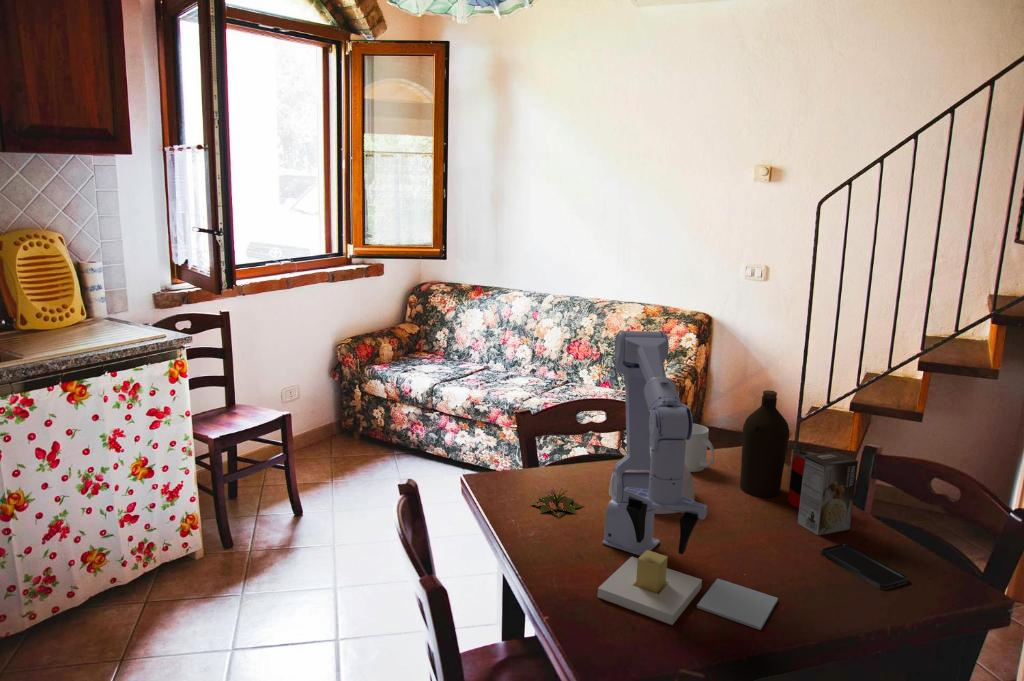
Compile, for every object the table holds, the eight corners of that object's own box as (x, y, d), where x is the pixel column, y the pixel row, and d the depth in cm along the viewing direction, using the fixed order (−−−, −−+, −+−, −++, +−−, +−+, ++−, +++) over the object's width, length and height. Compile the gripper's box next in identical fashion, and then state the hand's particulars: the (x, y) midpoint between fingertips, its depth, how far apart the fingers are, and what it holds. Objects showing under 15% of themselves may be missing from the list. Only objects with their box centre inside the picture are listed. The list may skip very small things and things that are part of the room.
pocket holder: (597, 597, 127) (598, 587, 127) (631, 564, 139) (631, 556, 138) (672, 625, 120) (673, 615, 119) (701, 588, 131) (702, 579, 131)
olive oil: (785, 501, 170) (796, 400, 165) (738, 495, 173) (748, 395, 167) (779, 483, 180) (790, 388, 175) (735, 479, 183) (745, 384, 178)
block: (635, 594, 129) (637, 558, 127) (644, 584, 132) (647, 549, 131) (656, 601, 127) (658, 565, 125) (664, 591, 130) (667, 556, 128)
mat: (696, 607, 125) (696, 605, 125) (717, 580, 134) (717, 578, 134) (760, 630, 119) (760, 627, 119) (777, 600, 128) (778, 598, 128)
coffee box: (828, 517, 162) (836, 450, 159) (850, 530, 156) (859, 460, 153) (796, 523, 159) (804, 455, 155) (817, 536, 153) (826, 465, 150)
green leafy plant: (554, 492, 172) (555, 475, 171) (593, 509, 164) (595, 490, 163) (519, 507, 164) (520, 488, 163) (559, 525, 156) (560, 505, 155)
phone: (845, 543, 149) (911, 578, 135) (845, 548, 149) (910, 584, 136) (817, 549, 146) (882, 586, 132) (817, 554, 146) (881, 592, 132)
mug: (701, 479, 182) (704, 439, 179) (665, 464, 191) (668, 426, 189) (722, 472, 186) (726, 433, 184) (686, 458, 196) (689, 421, 194)
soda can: (801, 495, 174) (806, 448, 172) (829, 506, 168) (835, 458, 165) (780, 501, 170) (786, 453, 168) (808, 513, 164) (815, 464, 161)
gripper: (618, 472, 124) (614, 544, 127) (702, 491, 117) (695, 566, 120) (632, 459, 130) (628, 529, 133) (712, 477, 123) (706, 549, 126)
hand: (660, 546), depth 127 cm, fingers open, 7 cm apart
